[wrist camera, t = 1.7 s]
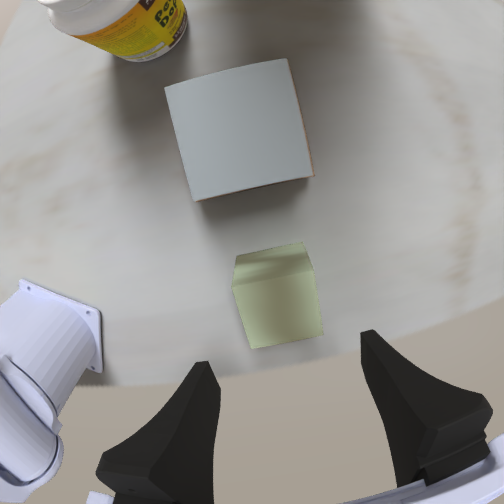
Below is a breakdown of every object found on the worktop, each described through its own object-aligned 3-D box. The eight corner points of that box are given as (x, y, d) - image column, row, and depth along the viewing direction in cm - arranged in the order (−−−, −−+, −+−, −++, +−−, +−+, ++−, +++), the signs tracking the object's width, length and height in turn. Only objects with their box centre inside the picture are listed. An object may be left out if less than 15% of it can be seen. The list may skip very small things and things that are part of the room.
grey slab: (201, 191, 17) (193, 201, 15) (176, 93, 15) (164, 87, 12) (304, 169, 16) (312, 175, 14) (281, 68, 14) (286, 57, 12)
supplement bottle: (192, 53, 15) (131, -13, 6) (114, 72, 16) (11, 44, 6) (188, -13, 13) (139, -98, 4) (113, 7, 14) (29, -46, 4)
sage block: (252, 310, 22) (251, 348, 18) (236, 255, 21) (231, 287, 17) (312, 298, 22) (323, 334, 18) (302, 241, 20) (313, 269, 16)
